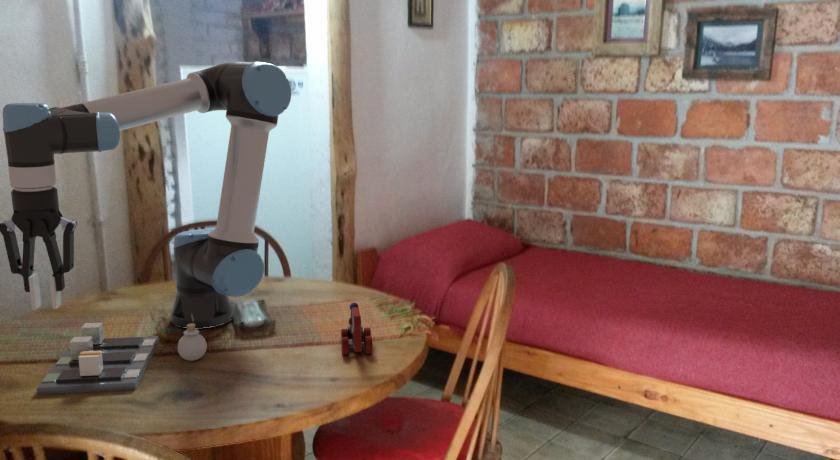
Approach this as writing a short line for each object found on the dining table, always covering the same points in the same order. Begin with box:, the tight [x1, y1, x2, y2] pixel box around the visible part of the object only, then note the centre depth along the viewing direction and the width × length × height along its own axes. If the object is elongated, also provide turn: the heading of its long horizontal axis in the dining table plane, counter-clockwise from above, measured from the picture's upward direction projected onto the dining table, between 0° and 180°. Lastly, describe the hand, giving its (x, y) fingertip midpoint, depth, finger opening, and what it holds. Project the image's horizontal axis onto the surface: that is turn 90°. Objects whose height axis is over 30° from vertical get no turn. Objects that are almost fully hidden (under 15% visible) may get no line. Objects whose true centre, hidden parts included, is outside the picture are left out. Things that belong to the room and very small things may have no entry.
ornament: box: [177, 316, 208, 362], centre depth 148 cm, size 6×7×10 cm
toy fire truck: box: [340, 302, 374, 356], centre depth 155 cm, size 7×12×10 cm, turn 8°
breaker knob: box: [78, 351, 103, 376], centre depth 135 cm, size 4×3×4 cm
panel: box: [36, 322, 160, 396], centre depth 143 cm, size 18×24×6 cm
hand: (46, 306), depth 131 cm, fingers open, 3 cm apart
